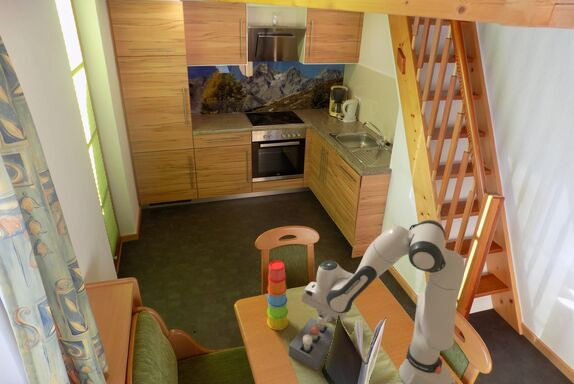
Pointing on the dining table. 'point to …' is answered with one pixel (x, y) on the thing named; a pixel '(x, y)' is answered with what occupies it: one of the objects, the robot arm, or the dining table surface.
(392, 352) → the dining table surface
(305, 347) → the knob
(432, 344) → the robot arm
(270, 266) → the stacking cups
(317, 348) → the console
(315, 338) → the knob mid
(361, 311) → the dining table surface
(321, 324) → the knob
